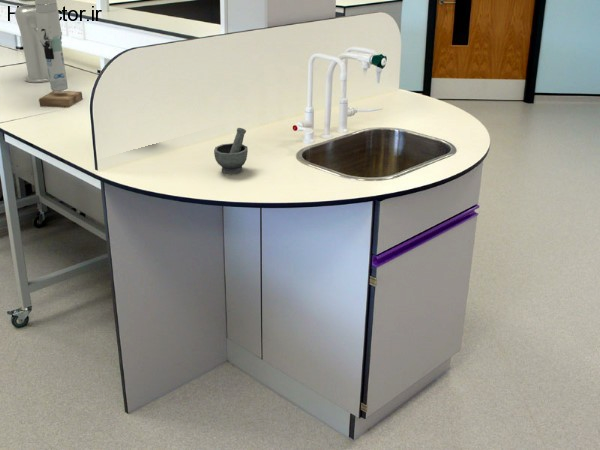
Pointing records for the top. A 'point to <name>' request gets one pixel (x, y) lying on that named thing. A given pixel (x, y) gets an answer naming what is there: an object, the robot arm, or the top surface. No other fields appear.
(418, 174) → the top surface
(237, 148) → the mortar and pestle
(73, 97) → the square brown tray
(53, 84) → the pale blue bottle
